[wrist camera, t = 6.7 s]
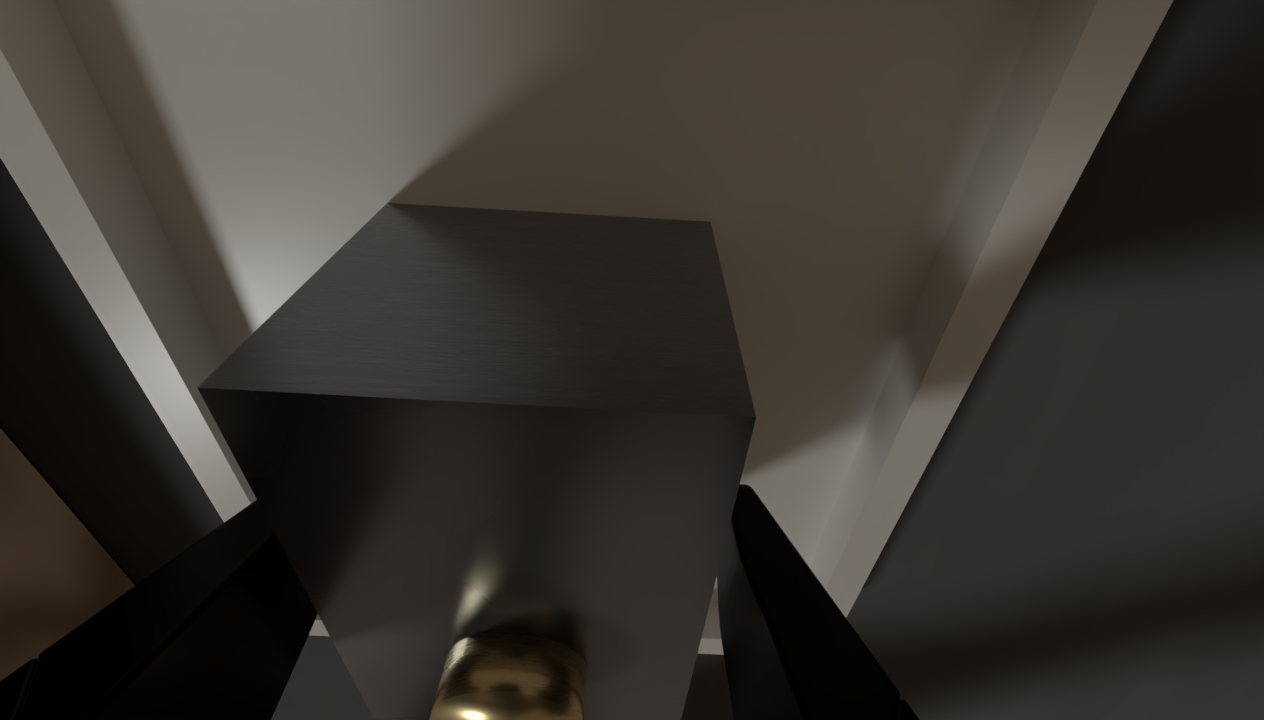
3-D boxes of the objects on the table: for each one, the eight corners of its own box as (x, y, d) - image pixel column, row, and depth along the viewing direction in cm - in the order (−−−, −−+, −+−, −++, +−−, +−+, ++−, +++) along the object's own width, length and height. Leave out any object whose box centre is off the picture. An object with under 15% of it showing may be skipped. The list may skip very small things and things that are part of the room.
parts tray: (810, 605, 16) (824, 659, 15) (319, 581, 16) (293, 634, 15) (1144, -142, 6) (1258, -163, 5) (-84, -223, 6) (-259, -263, 5)
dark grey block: (669, 510, 13) (680, 790, 9) (451, 499, 13) (352, 776, 8) (710, 220, 9) (773, 485, 4) (387, 203, 9) (129, 453, 4)
